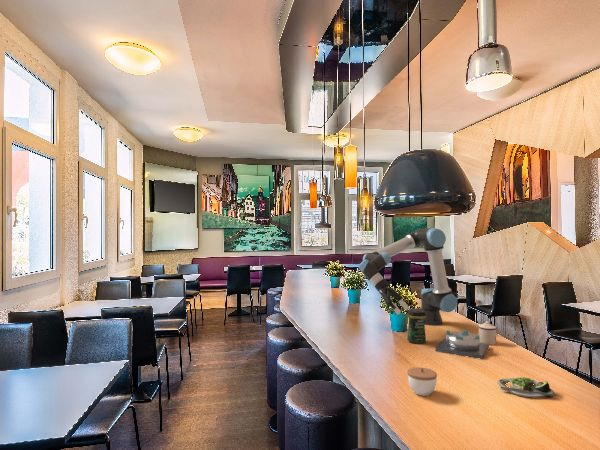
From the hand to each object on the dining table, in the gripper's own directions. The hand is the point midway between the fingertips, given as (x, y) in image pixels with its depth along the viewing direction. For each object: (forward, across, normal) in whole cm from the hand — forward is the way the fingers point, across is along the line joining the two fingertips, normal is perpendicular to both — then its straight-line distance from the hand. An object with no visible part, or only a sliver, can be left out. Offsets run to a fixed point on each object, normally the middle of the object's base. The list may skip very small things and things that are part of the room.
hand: (403, 311), depth 213 cm
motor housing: (+33, -1, +11) cm, 35 cm away
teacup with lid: (+39, -23, +16) cm, 48 cm away
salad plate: (+56, +38, +32) cm, 75 cm away
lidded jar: (+33, +64, +9) cm, 72 cm away
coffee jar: (+17, -1, -7) cm, 18 cm away
